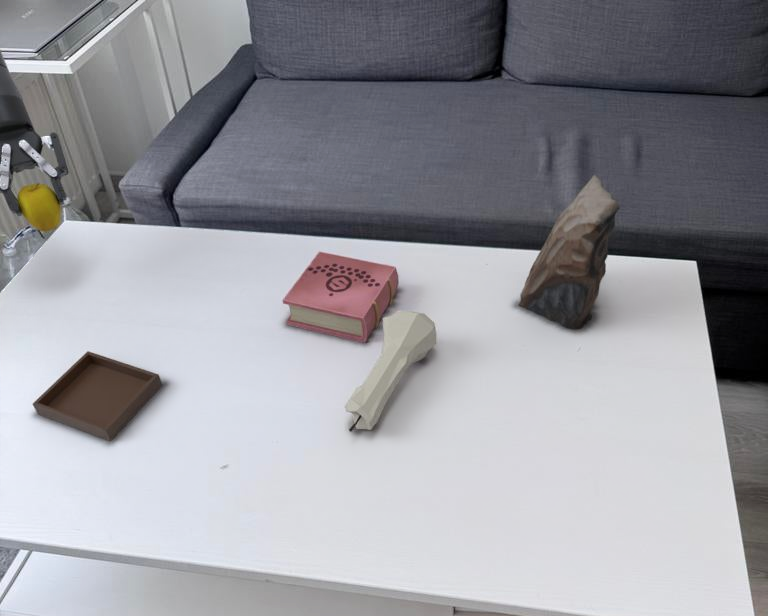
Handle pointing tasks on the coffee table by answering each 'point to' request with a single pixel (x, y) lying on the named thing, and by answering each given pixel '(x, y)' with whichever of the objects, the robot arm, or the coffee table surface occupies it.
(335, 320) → the book
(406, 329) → the faceted club
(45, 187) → the apple
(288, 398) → the coffee table surface
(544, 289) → the brown rock
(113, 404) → the tray
